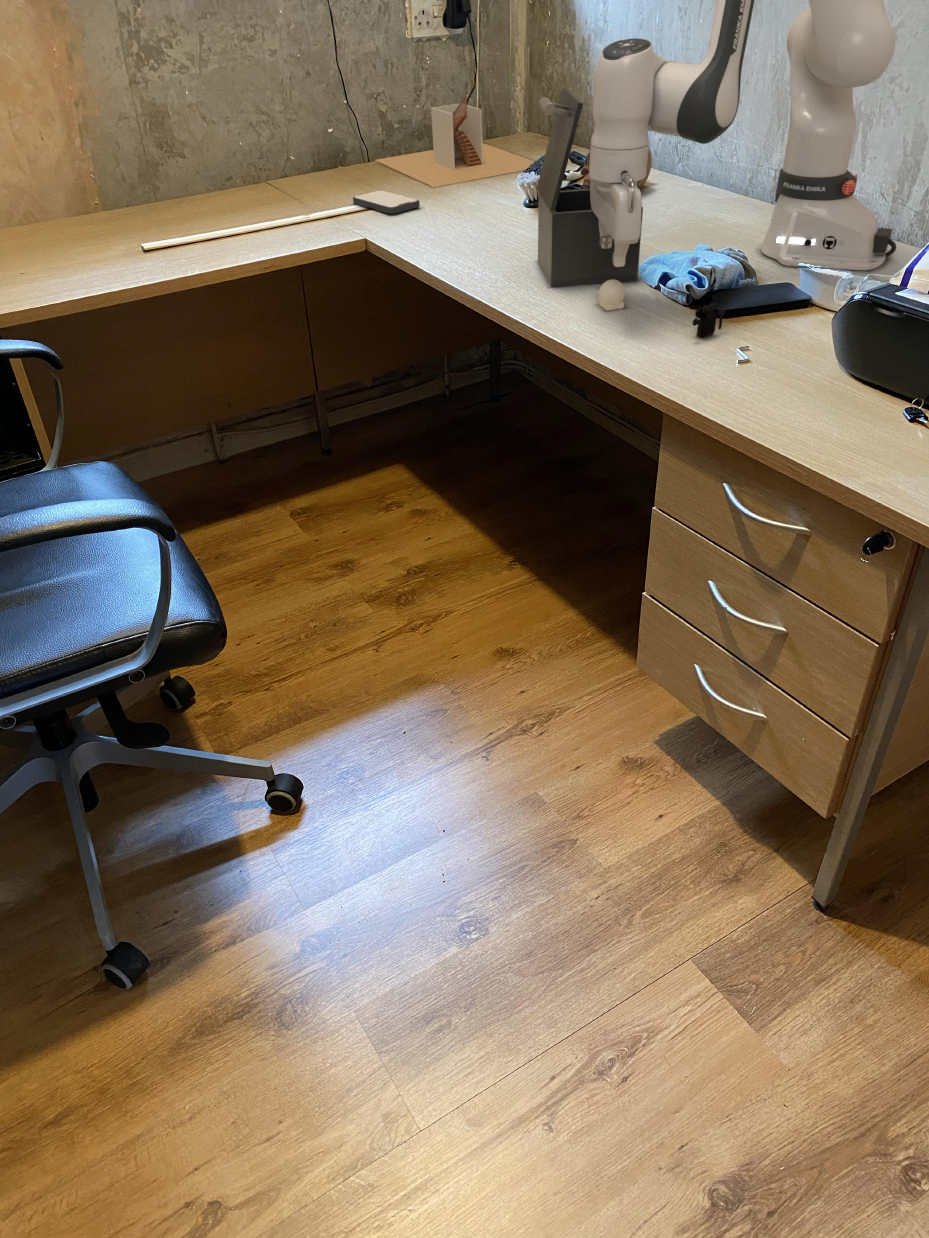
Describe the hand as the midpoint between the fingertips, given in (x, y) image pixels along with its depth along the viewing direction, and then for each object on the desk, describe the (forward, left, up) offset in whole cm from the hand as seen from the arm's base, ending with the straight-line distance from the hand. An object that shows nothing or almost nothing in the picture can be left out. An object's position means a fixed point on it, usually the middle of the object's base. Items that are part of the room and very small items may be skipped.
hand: (611, 256), depth 149 cm
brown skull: (+26, -65, -9) cm, 70 cm away
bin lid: (+15, -12, +13) cm, 23 cm away
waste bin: (+11, -15, -8) cm, 20 cm away
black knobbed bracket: (-18, +6, -9) cm, 21 cm away
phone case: (+71, -39, -9) cm, 81 cm away
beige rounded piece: (0, 0, -8) cm, 8 cm away
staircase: (+75, -80, -9) cm, 110 cm away
